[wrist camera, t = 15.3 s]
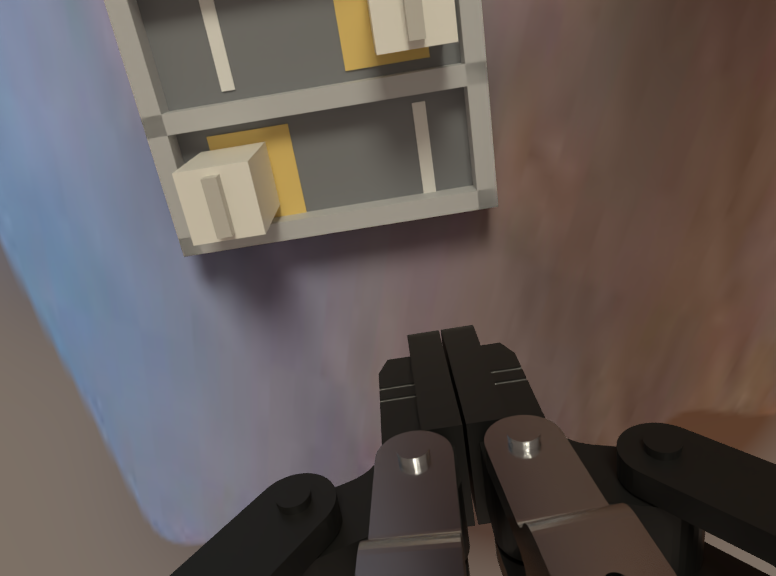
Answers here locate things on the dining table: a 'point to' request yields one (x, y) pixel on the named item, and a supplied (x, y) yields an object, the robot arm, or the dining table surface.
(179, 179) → the tab
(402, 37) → the tab
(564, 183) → the dining table surface
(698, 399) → the dining table surface
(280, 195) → the switch bank
